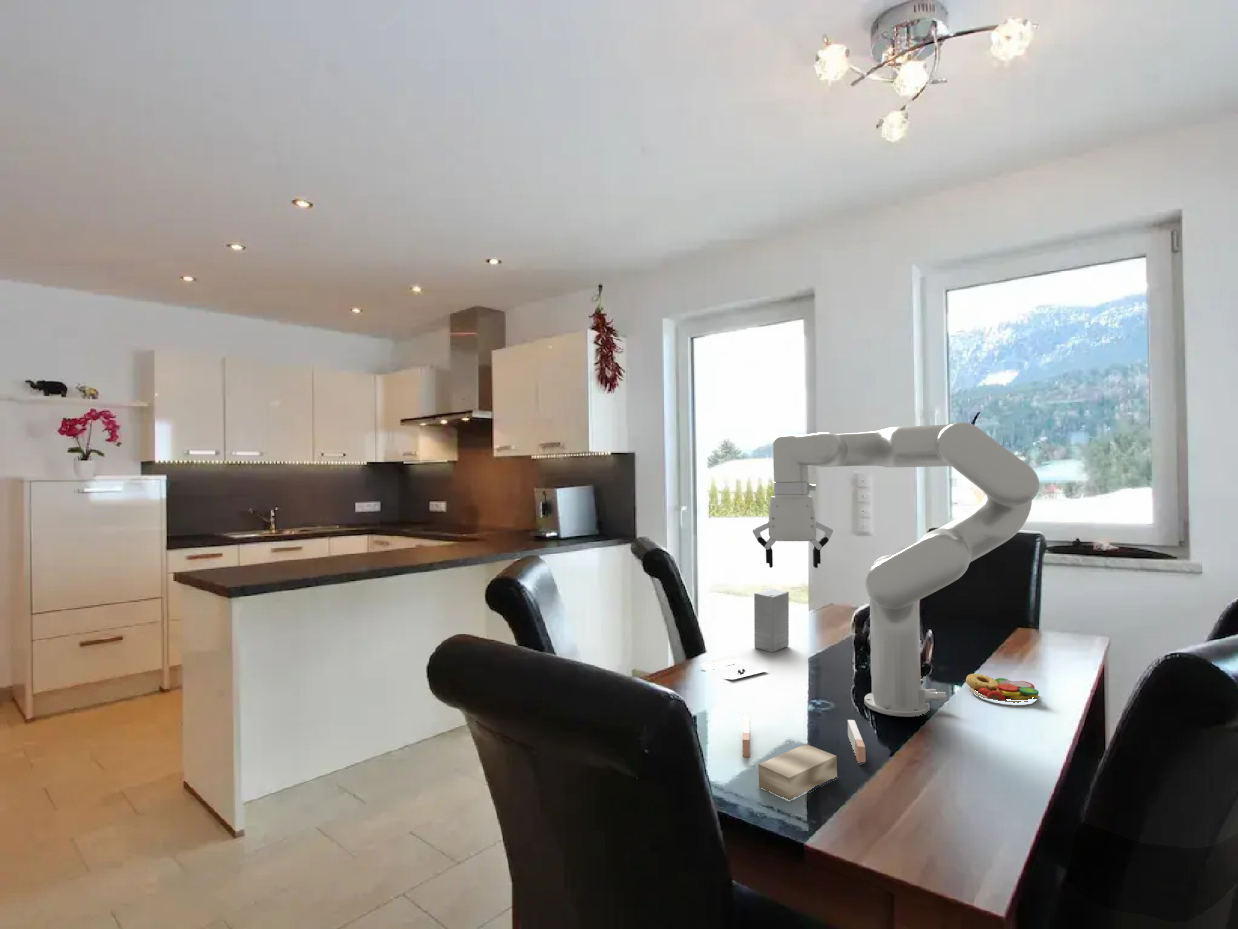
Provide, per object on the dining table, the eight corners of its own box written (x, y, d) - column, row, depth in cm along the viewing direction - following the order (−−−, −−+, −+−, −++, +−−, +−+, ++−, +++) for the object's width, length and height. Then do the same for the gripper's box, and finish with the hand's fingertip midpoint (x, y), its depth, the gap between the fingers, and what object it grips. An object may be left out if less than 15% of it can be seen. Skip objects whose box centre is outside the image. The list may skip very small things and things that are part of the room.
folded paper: (733, 684, 155) (732, 675, 155) (700, 671, 165) (699, 663, 165) (769, 675, 162) (769, 667, 162) (735, 663, 172) (735, 655, 172)
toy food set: (961, 685, 150) (961, 671, 150) (1025, 688, 148) (1025, 674, 148) (981, 706, 137) (980, 691, 137) (1051, 710, 134) (1051, 694, 134)
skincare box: (770, 642, 190) (769, 587, 190) (791, 647, 184) (790, 590, 185) (752, 648, 184) (751, 591, 184) (774, 653, 179) (773, 595, 179)
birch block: (806, 767, 111) (805, 744, 111) (837, 780, 106) (836, 756, 106) (758, 789, 104) (758, 764, 104) (789, 804, 99) (789, 778, 99)
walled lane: (854, 736, 123) (854, 720, 123) (865, 764, 111) (865, 746, 111) (743, 730, 127) (743, 714, 127) (742, 756, 115) (742, 739, 115)
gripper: (829, 489, 148) (831, 564, 148) (751, 490, 152) (753, 564, 152) (833, 490, 141) (835, 569, 141) (751, 491, 145) (753, 569, 144)
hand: (793, 566), depth 146 cm, fingers open, 9 cm apart
